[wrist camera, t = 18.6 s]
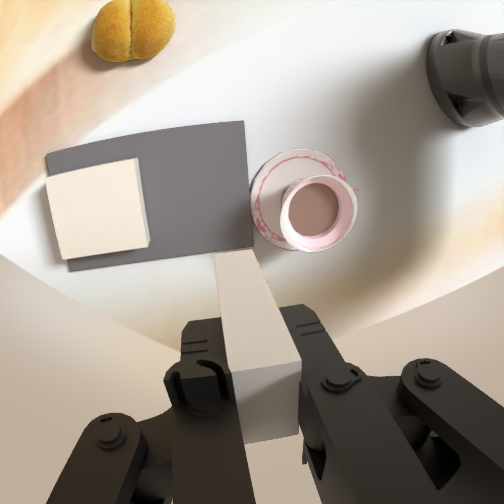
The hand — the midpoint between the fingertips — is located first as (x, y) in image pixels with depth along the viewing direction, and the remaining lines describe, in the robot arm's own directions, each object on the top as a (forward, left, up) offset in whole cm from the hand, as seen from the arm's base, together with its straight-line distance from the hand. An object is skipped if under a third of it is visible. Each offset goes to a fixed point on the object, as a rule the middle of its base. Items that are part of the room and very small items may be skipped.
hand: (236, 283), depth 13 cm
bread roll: (-19, -7, -23) cm, 31 cm away
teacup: (+2, +10, -23) cm, 26 cm away
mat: (0, -7, -23) cm, 24 cm away
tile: (0, -7, -21) cm, 22 cm away
